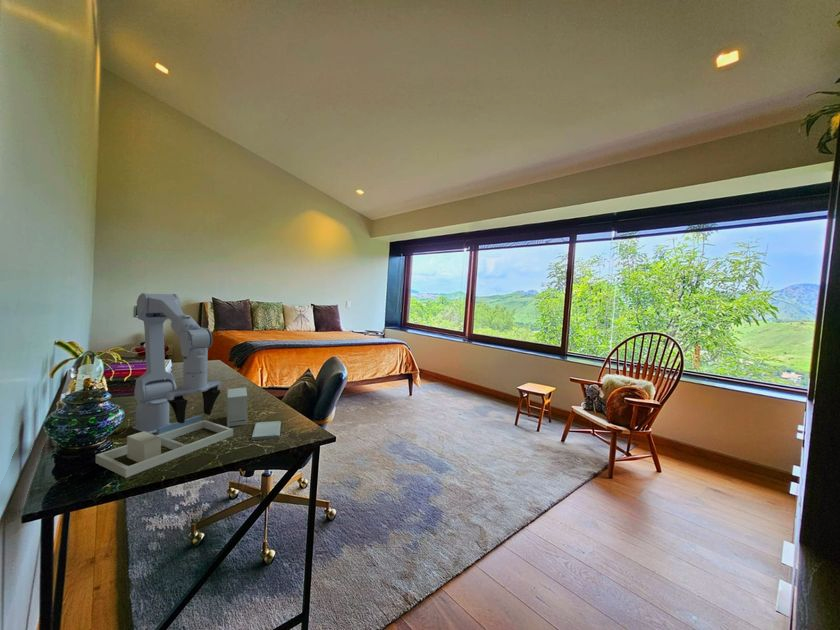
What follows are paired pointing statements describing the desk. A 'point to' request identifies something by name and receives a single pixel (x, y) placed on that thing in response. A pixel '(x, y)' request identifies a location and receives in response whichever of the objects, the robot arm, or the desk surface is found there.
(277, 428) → the hard drive
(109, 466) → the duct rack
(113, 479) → the desk surface
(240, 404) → the skincare box
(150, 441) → the cream rectangular block
